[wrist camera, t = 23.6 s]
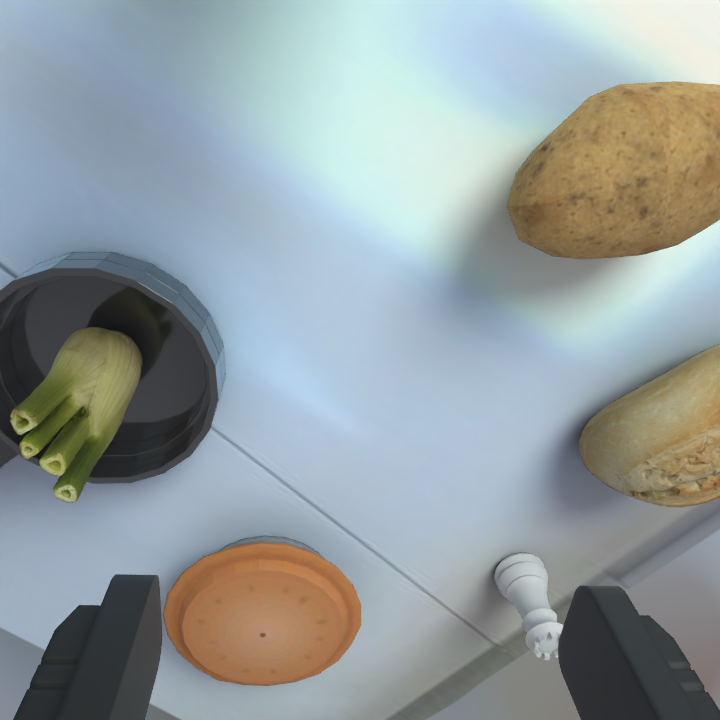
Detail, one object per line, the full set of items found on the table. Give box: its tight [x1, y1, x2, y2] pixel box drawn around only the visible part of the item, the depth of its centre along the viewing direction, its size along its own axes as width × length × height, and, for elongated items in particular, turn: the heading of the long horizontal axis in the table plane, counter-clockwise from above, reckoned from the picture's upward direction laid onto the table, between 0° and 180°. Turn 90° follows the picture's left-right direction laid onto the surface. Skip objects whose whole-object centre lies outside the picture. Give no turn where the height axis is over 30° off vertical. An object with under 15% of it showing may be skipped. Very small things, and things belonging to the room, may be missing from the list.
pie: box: [163, 536, 361, 686], centre depth 49 cm, size 15×16×5 cm
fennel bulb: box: [10, 327, 142, 503], centre depth 35 cm, size 6×5×12 cm
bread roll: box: [580, 344, 720, 507], centre depth 42 cm, size 10×15×8 cm, turn 128°
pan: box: [0, 252, 226, 484], centre depth 39 cm, size 15×15×4 cm
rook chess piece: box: [494, 553, 563, 660], centre depth 48 cm, size 4×4×8 cm
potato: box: [507, 82, 720, 259], centre depth 34 cm, size 10×14×8 cm
